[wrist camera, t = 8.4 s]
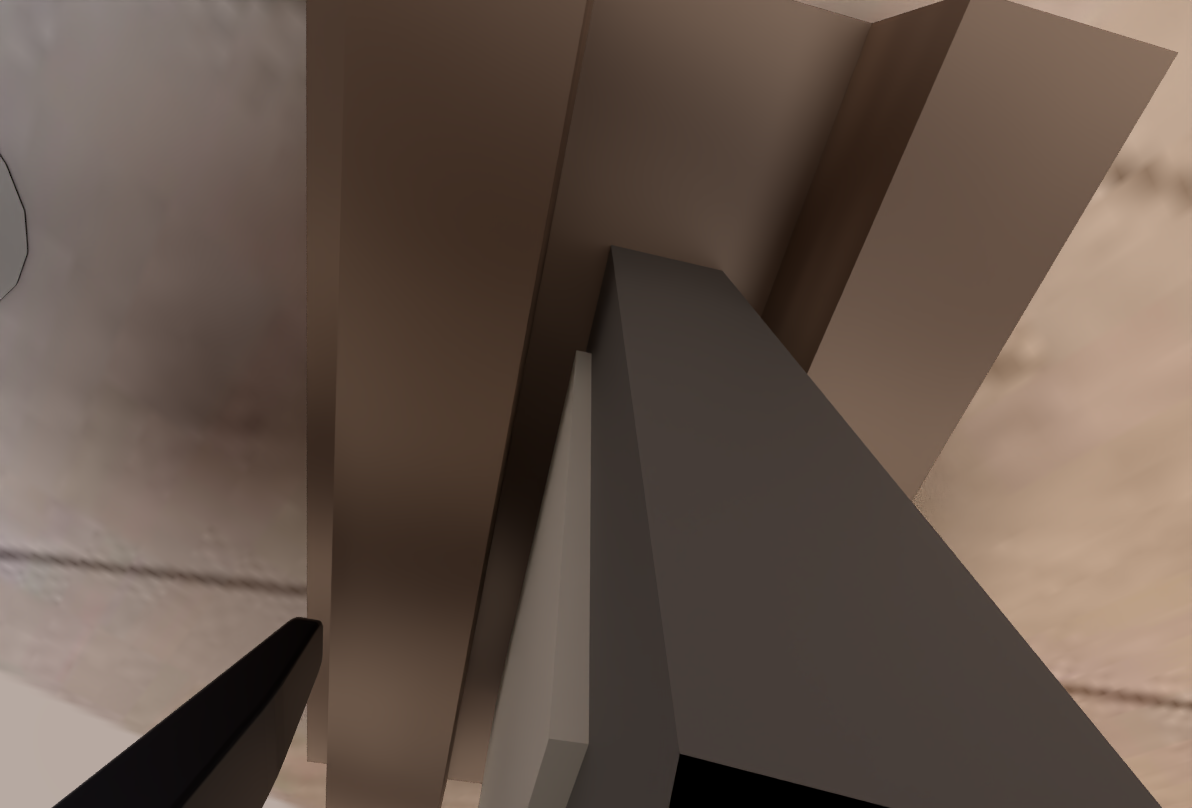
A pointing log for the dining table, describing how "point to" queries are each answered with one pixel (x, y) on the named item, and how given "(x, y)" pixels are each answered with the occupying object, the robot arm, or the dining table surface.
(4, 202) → the chalice
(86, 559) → the dining table surface
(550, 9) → the walnut ledge
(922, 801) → the picture frame
